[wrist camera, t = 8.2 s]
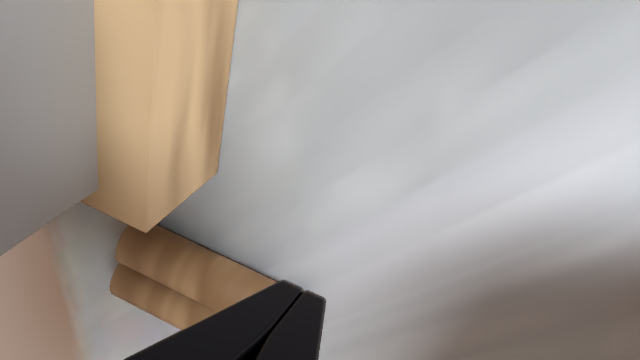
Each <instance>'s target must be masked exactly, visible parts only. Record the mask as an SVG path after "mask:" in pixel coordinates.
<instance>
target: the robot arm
mask: <svg viewBox="0 0 640 360" xmlns="http://www.w3.org/2000/svg"><path fill="white" fill-rule="evenodd" d="M325 307H326V299H325V298H324V297H322V296H319V295H317V294H315V293H313V292H311V291H308V290H306V291H304V290H303V288H302V287H300V286H298V285H295V284H293V283H291V282H289V281H286V280H281V281H278V282H276V283H275V284H273V285H271V286H269V287H267V288H265V289H263V290H261V291H259V292H257V293H255V294H253V295H251V296H249V297H247V298H245V299H243V300H241V301H239V302H237V303H235V304H233V305H231V306H229V307H227V308H225V309H223V310H221V311H219V312H217V313H215V314H213V315H211V316H209V317H207V318H205V319H203V320H201V321H199V322H197V323H195V324H193V325H191V326H189V327H187V328H185V329H183V330H181V331H179V332H177V333H175V334H173V335H171V336H169V337H167V338H165V339H163V340H161V341H159V342H157V343H155V344H153V345H151V346H149V347H147V348H146V349H144V350H142V351H140V352H138V353H136V354H134V355H132V356H130V357H128V358H126V359H124V360H318V358H319V350H320V343H321V336H322V329H323V321H324V314H325Z"/></svg>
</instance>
